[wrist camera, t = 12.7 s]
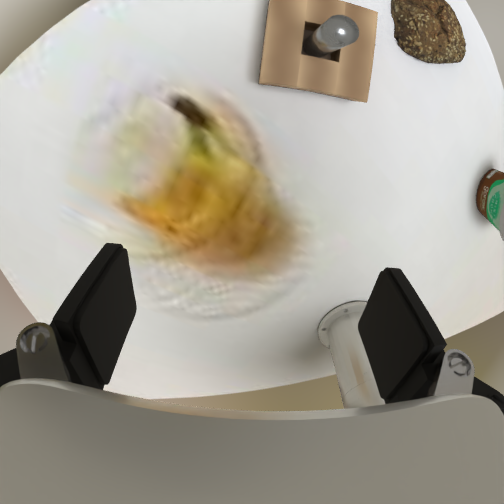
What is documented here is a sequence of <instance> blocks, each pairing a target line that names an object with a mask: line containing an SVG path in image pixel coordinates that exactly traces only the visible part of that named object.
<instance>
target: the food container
mask: <svg viewBox="0 0 504 504" xmlns="http://www.w3.org/2000/svg"><path fill="white" fill-rule="evenodd" d="M476 203H477V207H478V210H479V211H480V213H481V214H482V215H484V216H485V217H486V218H487V219H488V220H489V221H490V222H491V223H492V224H493V225H494V226H495V227H496V228H497V229H498V230H499V231H500V235H501V237H502V239H503V241H504V173H503V172H501V171H498V170H495V169H491V170H489V171H488V172H487V173H486V174H485V175H484V176H483V178H482V180H481V181H480V184H479V186H478V189H477V195H476Z"/></svg>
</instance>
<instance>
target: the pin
mask: <svg viewBox="0 0 504 504" xmlns="http://www.w3.org/2000/svg"><path fill="white" fill-rule="evenodd" d="M358 37H359V28H358V26H357V24H356V23H355V22H354V21H353V20H352V19H351V18H349V17H347V16H345V15H333V16H331V17H330V18H329V19H328V20H326V21H325V22H324V23H323V24H322V25H321V26H320V27H319V28H317V29H316V30H315V31H314V32H313V33H312V34H311V35H310V36H309V37H308V38H307V39H306V40H305V41H304V43H303V49H304V52H305V53H306V54H307V55H308V56H313V57H318V58H321V57H323V56H325V55H327V54H330V53H332V52H334V51H336V50H338V49H341V48H343V47H345V46H347V45H350V44H352V43H354V42H355V41H356V40H357V39H358Z"/></svg>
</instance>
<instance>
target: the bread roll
mask: <svg viewBox="0 0 504 504" xmlns="http://www.w3.org/2000/svg"><path fill="white" fill-rule="evenodd" d="M391 5H392V10H391V13H392V17H393V20H394V23H395V32H394V37H395V38H396V40H397V41H398V44H399V46H400V47H401V48H402V49H403V50H404V51H405V52H406V53H408V54H409V55H411V56H413V57H415V58H417V59H420V60H422V61H425V62H427V63H438V64H441V63H456V62H457V63H458V62H461V61H462V59H463V58H464V55H465V52H466V50H465V46H466V43H465V39H464V36H463V32H462V28H461V25H460V24H459V21H458V19H457V17H456V15H455V12H454V11H453V9H452V8H451V7H450V5H449V4H448V3H447V2H446V1H445V0H392V3H391Z"/></svg>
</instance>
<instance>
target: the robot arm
mask: <svg viewBox="0 0 504 504" xmlns="http://www.w3.org/2000/svg"><path fill="white" fill-rule="evenodd" d="M135 314H136V300H135V295H134V290H133V284H132V278H131V272H130V266H129V259H128V252H127V249H125V248H123V246H122V245H121V244H114V243H106V244H105V245H104V246H103V248H102V249H101V250H100V252H99V253H98V254H97V255H96V257H95V258H94V259H93V261H92V262H91V263H90V265H89V266H88V267H87V269H86V270H85V272H84V273H83V274H82V276H81V277H80V279H79V280H78V281H77V283H76V284H75V286H74V287H73V289H72V290H71V291H70V293H69V294H68V296H67V297H66V299H65V300H64V302H63V303H62V305H61V306H60V308H59V309H58V311H57V313H56V314H55V316H54V317H53V320H52V322H51V324H50V325H48V324H46V323H41V322H37V323H33V324H30V325H28V326H26V327H25V328H24V329H23V330H22V331H21V332H20V334H19V335H18V337H17V340H16V348H15V349H13V350H10V351H8V352H6V353H4V354H1V355H0V504H504V396H503V395H502V394H501V393H500V392H498V391H497V390H495V389H494V388H492V387H490V386H489V385H487V384H485V383H484V382H482V381H481V380H479V379H477V378H476V377H474V365H473V362H472V361H471V359H470V358H469V357H468V356H467V355H466V354H465V353H464V352H462V351H460V350H457V349H451V350H448V351H447V352H446V353H445V352H444V350H443V349H444V348H445V346H446V345H447V344H446V342H445V340H444V338H443V336H442V334H441V333H440V331H439V329H438V327H437V326H436V324H435V322H434V321H433V319H432V317H431V316H430V314H429V312H428V311H427V309H426V307H425V306H424V304H423V303H422V301H421V299H420V298H419V296H418V295H417V293H416V292H415V290H414V288H413V287H412V285H411V284H410V282H409V281H408V279H407V278H406V276H405V275H404V273H403V272H402V270H401V269H398V268H385V269H384V271H381V272H380V274H379V276H378V279H377V281H376V283H375V286H374V288H373V291H372V293H371V295H370V298H369V300H368V302H359V301H358V302H351V303H347V304H344V305H341V306H339V307H337V308H335V309H334V310H332V311H331V312H330V313H328V314H327V315H326V316H325V317H324V318H323V320H322V321H321V323H320V325H319V328H318V335H319V339H320V341H321V343H322V344H323V345H324V346H326V347H327V348H330V350H331V354H332V358H333V362H334V366H335V370H336V375H337V379H338V383H339V388H340V392H341V396H342V401H343V405H344V409H335V410H319V411H286V412H285V411H279V412H278V411H244V410H227V409H215V408H205V407H195V406H186V405H179V404H172V403H166V402H160V401H153V400H148V399H143V398H138V397H132V396H127V395H122V394H118V393H113V392H109V391H104V390H103V388H104V385H105V384H106V385H107V384H108V383H109V382H110V379H111V376H112V374H113V371H114V368H115V365H116V363H117V360H118V357H119V355H120V352H121V349H122V347H123V344H124V341H125V339H126V336H127V334H128V331H129V329H130V326H131V324H132V321H133V319H134V317H135Z"/></svg>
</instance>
